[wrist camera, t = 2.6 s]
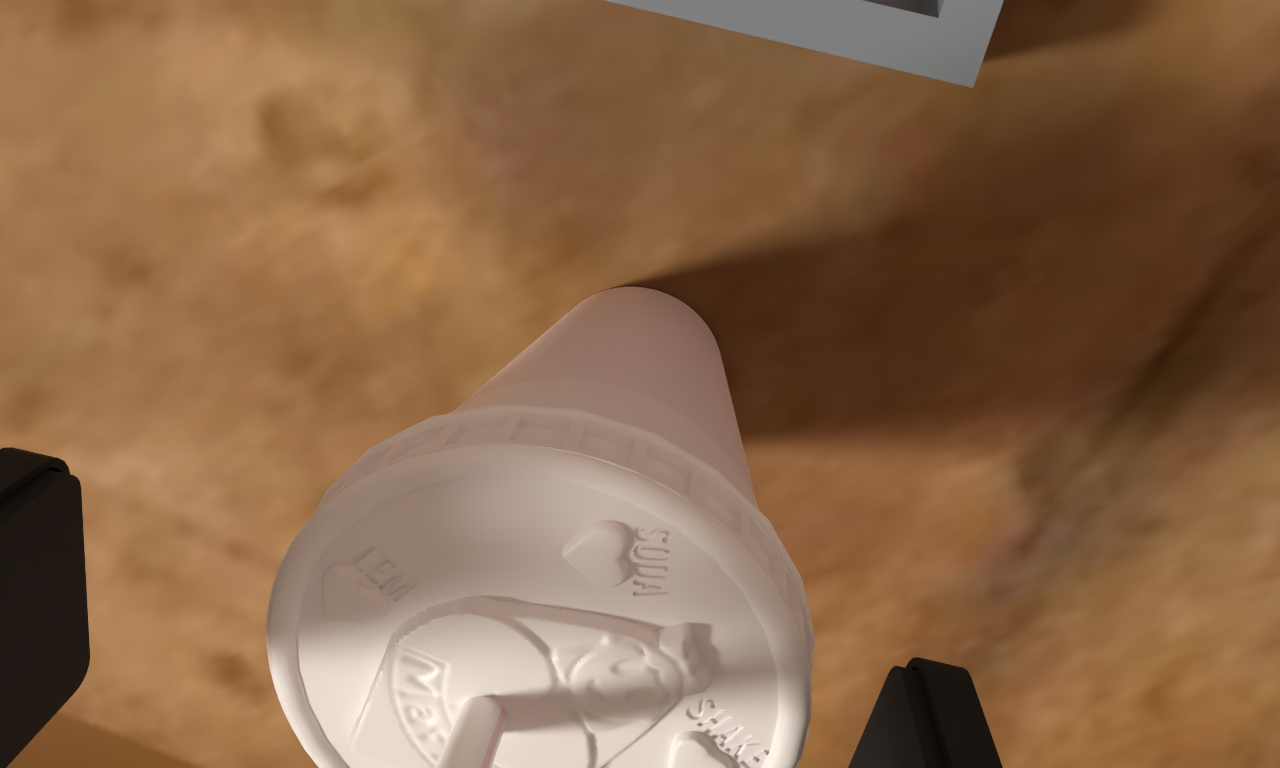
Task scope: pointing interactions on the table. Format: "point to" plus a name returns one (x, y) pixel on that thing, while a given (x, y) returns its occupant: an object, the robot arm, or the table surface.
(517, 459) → the smoothie
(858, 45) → the grey tray
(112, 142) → the table surface
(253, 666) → the table surface
